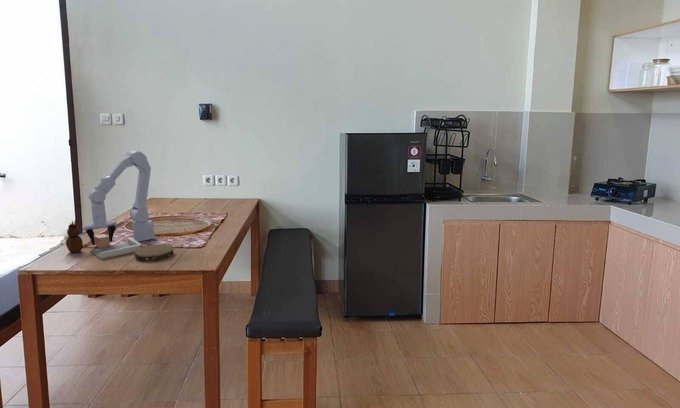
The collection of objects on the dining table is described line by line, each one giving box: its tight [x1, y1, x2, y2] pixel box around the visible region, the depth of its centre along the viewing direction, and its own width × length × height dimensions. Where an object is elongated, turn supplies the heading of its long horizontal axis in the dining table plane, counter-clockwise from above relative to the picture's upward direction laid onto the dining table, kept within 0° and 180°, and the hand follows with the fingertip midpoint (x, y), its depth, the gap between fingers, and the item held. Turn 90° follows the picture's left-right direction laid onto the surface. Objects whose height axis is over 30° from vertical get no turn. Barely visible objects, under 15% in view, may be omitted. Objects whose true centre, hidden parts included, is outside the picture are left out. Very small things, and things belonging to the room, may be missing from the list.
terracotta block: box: [94, 233, 111, 249], centre depth 228 cm, size 4×7×5 cm, turn 43°
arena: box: [89, 237, 143, 260], centre depth 220 cm, size 18×16×3 cm
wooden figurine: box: [65, 219, 84, 254], centre depth 218 cm, size 7×6×15 cm
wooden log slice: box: [134, 244, 174, 263], centre depth 213 cm, size 16×16×3 cm
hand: (102, 243), depth 228 cm, fingers open, 7 cm apart
